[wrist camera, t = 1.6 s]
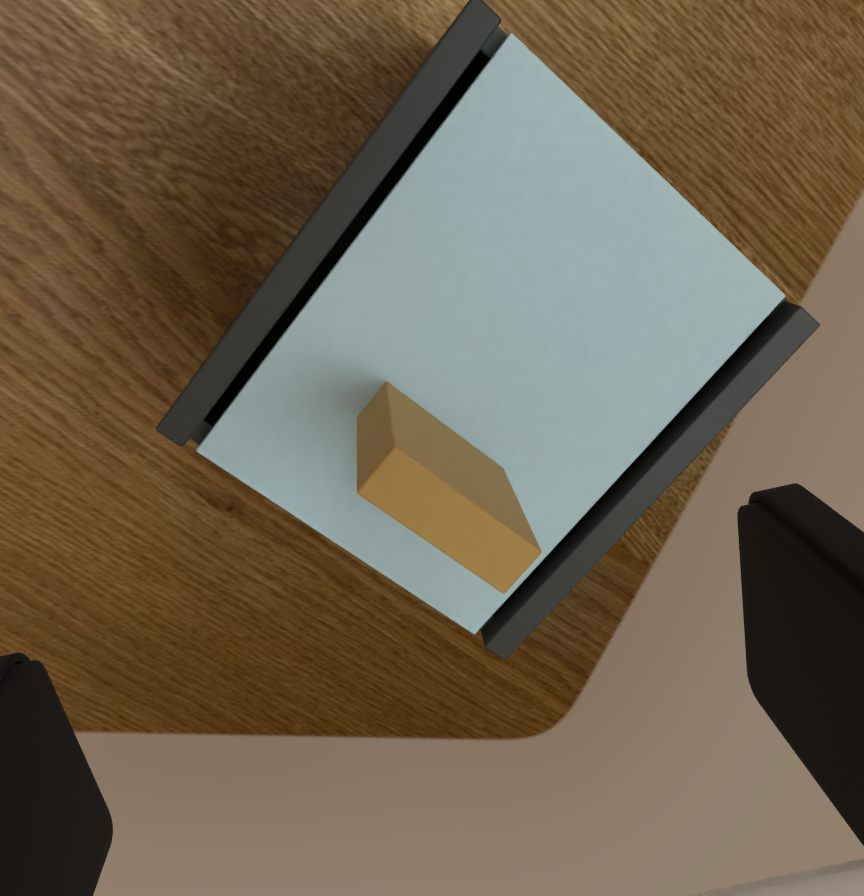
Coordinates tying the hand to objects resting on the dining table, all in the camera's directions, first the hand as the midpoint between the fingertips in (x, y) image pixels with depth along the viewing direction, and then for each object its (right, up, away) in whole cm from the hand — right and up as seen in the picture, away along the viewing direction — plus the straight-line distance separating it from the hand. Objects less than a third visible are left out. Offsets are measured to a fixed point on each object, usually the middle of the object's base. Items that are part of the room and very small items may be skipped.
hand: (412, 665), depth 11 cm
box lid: (+2, +5, +15) cm, 16 cm away
